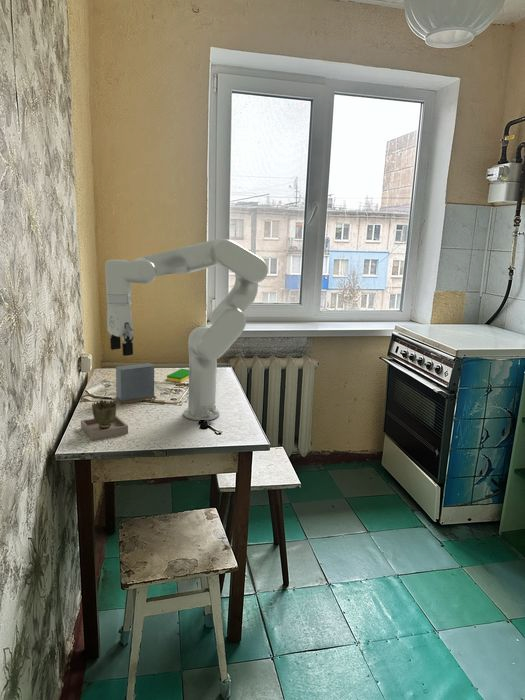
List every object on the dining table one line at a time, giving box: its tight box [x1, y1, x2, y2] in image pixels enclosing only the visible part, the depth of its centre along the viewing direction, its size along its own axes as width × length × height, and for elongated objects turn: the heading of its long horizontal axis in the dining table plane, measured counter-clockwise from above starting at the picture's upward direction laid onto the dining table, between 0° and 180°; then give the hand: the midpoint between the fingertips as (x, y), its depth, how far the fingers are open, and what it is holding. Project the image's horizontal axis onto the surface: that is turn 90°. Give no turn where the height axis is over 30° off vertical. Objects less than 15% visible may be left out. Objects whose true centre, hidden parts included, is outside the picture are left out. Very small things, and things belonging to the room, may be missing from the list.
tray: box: [80, 415, 129, 441], centre depth 153 cm, size 11×11×2 cm
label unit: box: [114, 362, 157, 405], centre depth 182 cm, size 6×14×13 cm, turn 126°
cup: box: [91, 399, 118, 429], centre depth 152 cm, size 8×7×8 cm
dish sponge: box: [166, 368, 189, 383], centre depth 216 cm, size 7×14×2 cm, turn 162°
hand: (121, 352), depth 157 cm, fingers open, 9 cm apart
